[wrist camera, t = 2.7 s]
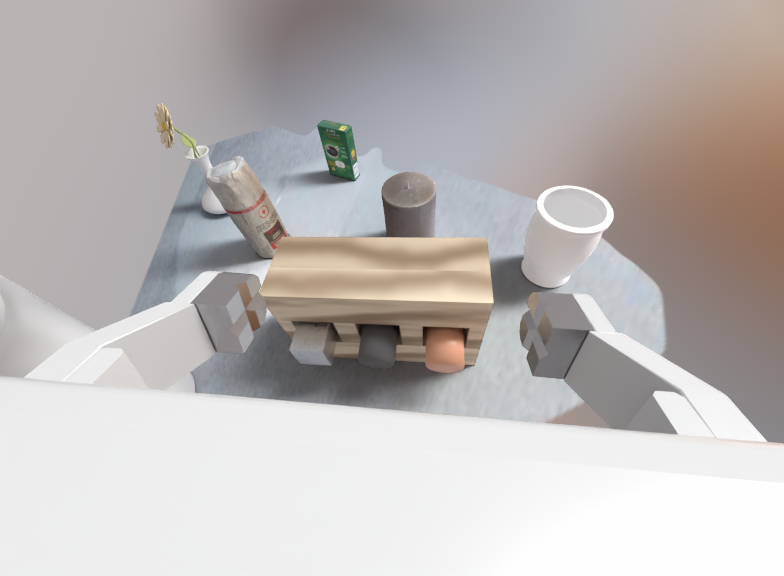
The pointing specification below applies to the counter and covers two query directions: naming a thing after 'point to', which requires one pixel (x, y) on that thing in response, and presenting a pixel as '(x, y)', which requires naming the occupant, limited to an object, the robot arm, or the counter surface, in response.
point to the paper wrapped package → (247, 205)
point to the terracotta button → (445, 349)
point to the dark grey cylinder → (378, 346)
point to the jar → (563, 233)
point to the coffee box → (339, 149)
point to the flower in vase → (189, 156)
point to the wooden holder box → (383, 288)
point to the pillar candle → (409, 205)
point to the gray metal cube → (314, 342)
